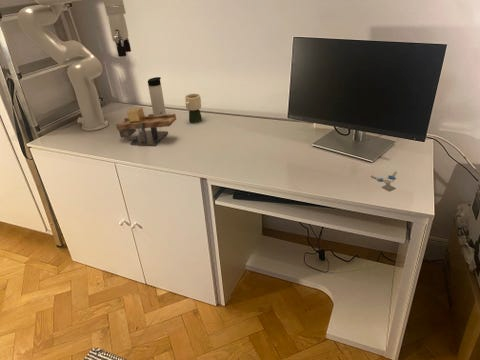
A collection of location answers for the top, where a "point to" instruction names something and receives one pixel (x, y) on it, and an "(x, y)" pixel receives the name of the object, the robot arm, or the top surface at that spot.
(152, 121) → the beam
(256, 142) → the top surface
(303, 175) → the top surface
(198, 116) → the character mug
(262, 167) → the top surface
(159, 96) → the travel mug
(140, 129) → the stand
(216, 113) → the top surface
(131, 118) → the tan block
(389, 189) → the key chain
